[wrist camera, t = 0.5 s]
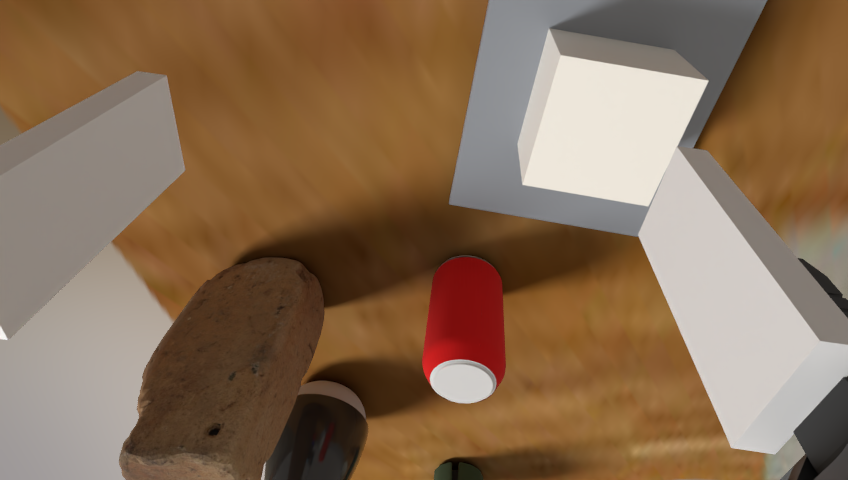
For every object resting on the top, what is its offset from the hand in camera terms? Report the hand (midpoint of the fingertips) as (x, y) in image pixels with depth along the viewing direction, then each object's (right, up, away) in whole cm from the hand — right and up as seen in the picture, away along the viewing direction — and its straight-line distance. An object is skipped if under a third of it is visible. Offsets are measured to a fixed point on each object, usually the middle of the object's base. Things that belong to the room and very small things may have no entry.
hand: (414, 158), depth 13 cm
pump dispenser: (-11, -20, +45) cm, 50 cm away
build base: (+12, +8, +21) cm, 26 cm away
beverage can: (+4, -5, +32) cm, 33 cm away
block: (-14, -6, +35) cm, 38 cm away
